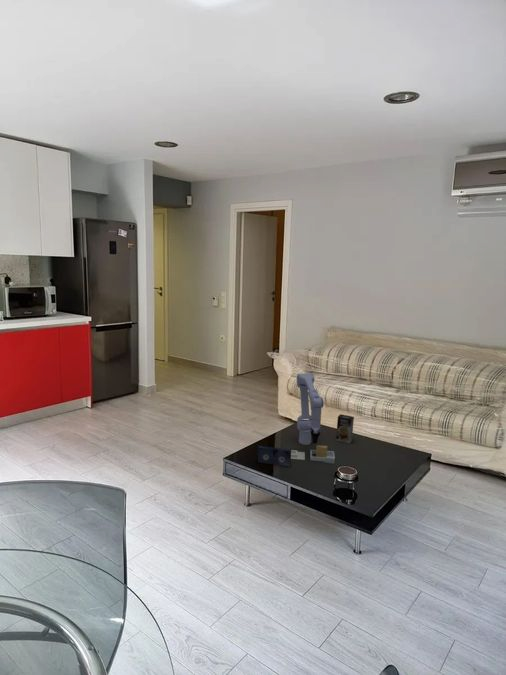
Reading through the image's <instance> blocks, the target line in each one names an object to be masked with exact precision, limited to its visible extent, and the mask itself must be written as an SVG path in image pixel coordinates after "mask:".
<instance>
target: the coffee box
mask: <svg viewBox="0 0 506 675" xmlns="http://www.w3.org/2000/svg"><path fill="white" fill-rule="evenodd" d="M354 421H355V417H354V416H351V415H347V414H341V413H340V414H339V415H338V416H337V421H336V422H337V423H336V433H335V434H336V435H335V436H336V438H335V441H336V442H341V443H344V444H350V443H352V441H353V432H354Z"/></svg>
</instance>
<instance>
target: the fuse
mask: <svg viewBox="0 0 506 675" xmlns="http://www.w3.org/2000/svg"><path fill="white" fill-rule="evenodd" d="M315 448H316V449H315V450H316V454H315V457H327V451H328V445H321V444H320V445H319V444H316V447H315Z"/></svg>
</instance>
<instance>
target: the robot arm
mask: <svg viewBox="0 0 506 675" xmlns="http://www.w3.org/2000/svg"><path fill="white" fill-rule="evenodd" d="M314 383H315V375H314V374H313V373H298V374H297V375H296V387H297V388H299V390H300V391H299V393H300V409H301V410H300V412H301V414H300V415H298V417H297V422H296V428H297V430H298V431H299V434H298V435H299V436H298V443H299V444H301V445H303V446H305V445H306V446H307V445H310V444H311V443H312V444H317V443H318V439H319V437H320V435H321V432H320V431H319V430H320V429H321V423H322V422H321V421H322V409H323V407H324V398H323V397H322V396H320V395H319V392H318V390H317V389H316V388H315V385H314ZM309 401H310V402H309ZM309 404H310V405H309ZM309 406H310V407H309ZM310 411H311V412H310Z"/></svg>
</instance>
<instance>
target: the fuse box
mask: <svg viewBox="0 0 506 675" xmlns="http://www.w3.org/2000/svg"><path fill="white" fill-rule="evenodd" d="M290 450H291V460H303V461H305V460H306V458H305V457H306V455H305V454H306V453H305V451H298V450H297V449H296V450H295V449H290Z"/></svg>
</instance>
